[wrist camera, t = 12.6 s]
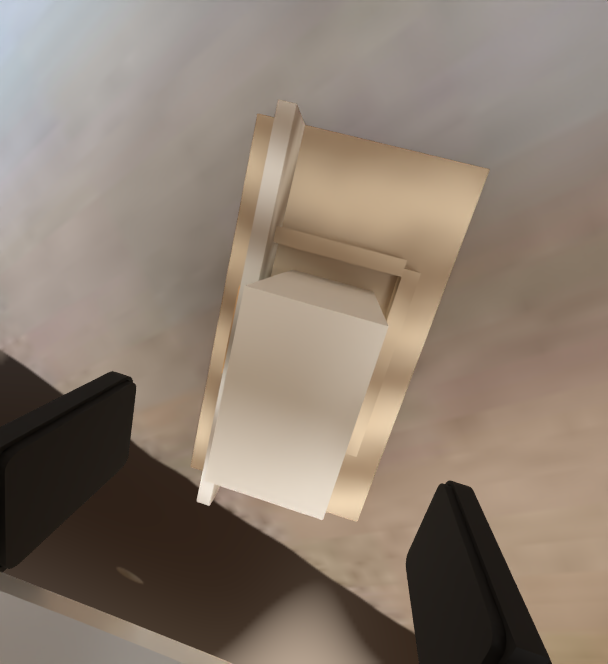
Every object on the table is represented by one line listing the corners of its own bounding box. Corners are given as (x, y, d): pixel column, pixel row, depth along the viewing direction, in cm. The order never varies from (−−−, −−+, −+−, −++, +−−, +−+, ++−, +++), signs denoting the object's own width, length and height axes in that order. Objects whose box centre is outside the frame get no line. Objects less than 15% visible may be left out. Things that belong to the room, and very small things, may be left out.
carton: (373, 291, 22) (388, 326, 12) (335, 411, 24) (322, 520, 14) (291, 269, 22) (243, 285, 12) (262, 389, 24) (203, 480, 15)
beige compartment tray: (262, 119, 21) (241, 90, 17) (483, 173, 20) (514, 154, 16) (196, 459, 28) (171, 492, 24) (356, 512, 27) (357, 556, 23)
